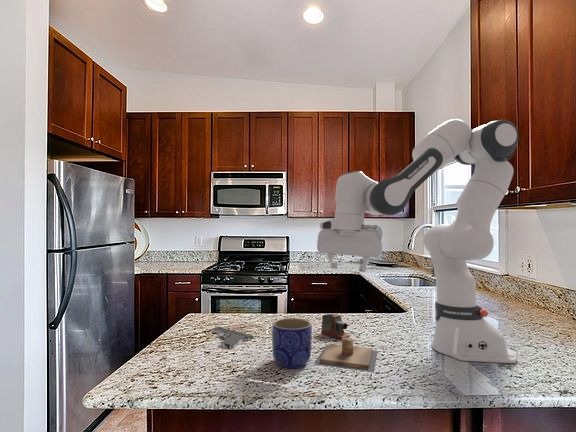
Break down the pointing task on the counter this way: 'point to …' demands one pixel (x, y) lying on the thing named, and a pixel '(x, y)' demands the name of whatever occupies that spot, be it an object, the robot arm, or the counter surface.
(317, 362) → the mat
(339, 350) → the lid
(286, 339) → the planter
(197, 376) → the counter surface
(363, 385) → the counter surface
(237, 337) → the handgun
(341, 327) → the electronic device
